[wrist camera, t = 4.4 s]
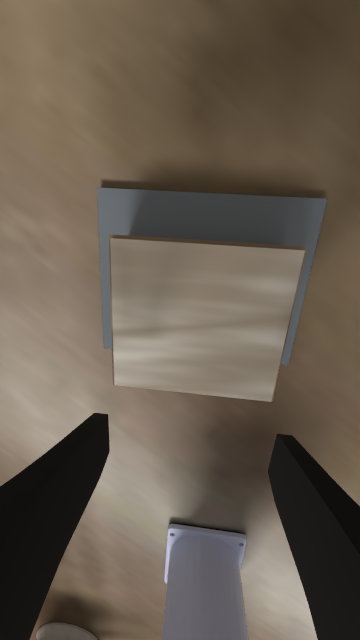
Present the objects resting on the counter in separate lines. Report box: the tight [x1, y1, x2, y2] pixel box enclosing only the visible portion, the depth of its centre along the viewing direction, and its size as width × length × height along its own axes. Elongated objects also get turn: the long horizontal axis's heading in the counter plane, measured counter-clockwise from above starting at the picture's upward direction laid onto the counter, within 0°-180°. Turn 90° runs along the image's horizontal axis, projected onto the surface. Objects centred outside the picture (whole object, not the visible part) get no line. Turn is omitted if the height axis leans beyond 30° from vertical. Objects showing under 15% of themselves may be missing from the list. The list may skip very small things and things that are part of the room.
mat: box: [97, 188, 327, 366], centre depth 15 cm, size 11×14×1 cm
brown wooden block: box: [109, 234, 307, 402], centre depth 13 cm, size 4×10×9 cm
